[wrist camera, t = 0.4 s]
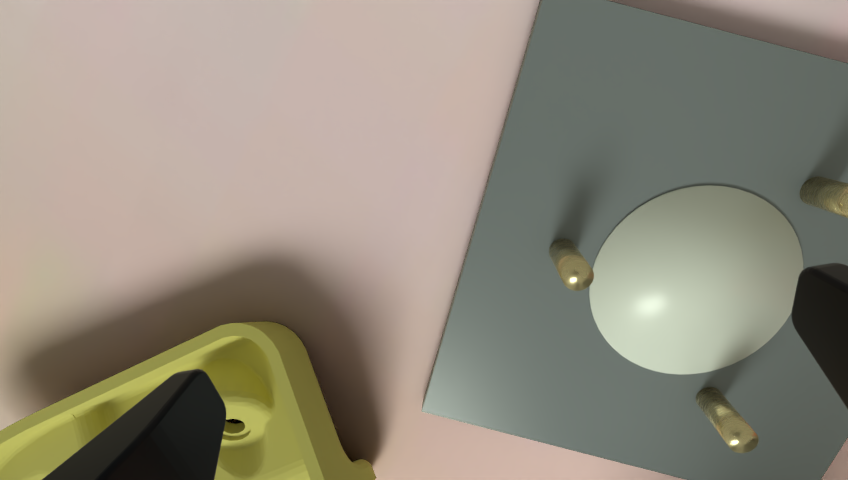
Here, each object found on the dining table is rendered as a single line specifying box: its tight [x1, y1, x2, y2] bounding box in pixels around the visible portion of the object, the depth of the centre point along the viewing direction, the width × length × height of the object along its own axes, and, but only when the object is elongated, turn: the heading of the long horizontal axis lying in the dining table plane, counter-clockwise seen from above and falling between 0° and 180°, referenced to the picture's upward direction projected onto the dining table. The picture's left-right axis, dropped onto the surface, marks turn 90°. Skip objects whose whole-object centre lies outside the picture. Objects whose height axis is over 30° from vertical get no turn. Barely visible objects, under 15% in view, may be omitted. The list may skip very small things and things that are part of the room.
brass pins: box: [549, 176, 848, 453], centre depth 20 cm, size 12×10×3 cm
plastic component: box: [0, 321, 376, 480], centre depth 26 cm, size 20×7×10 cm
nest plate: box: [422, 0, 848, 480], centre depth 22 cm, size 20×20×1 cm
